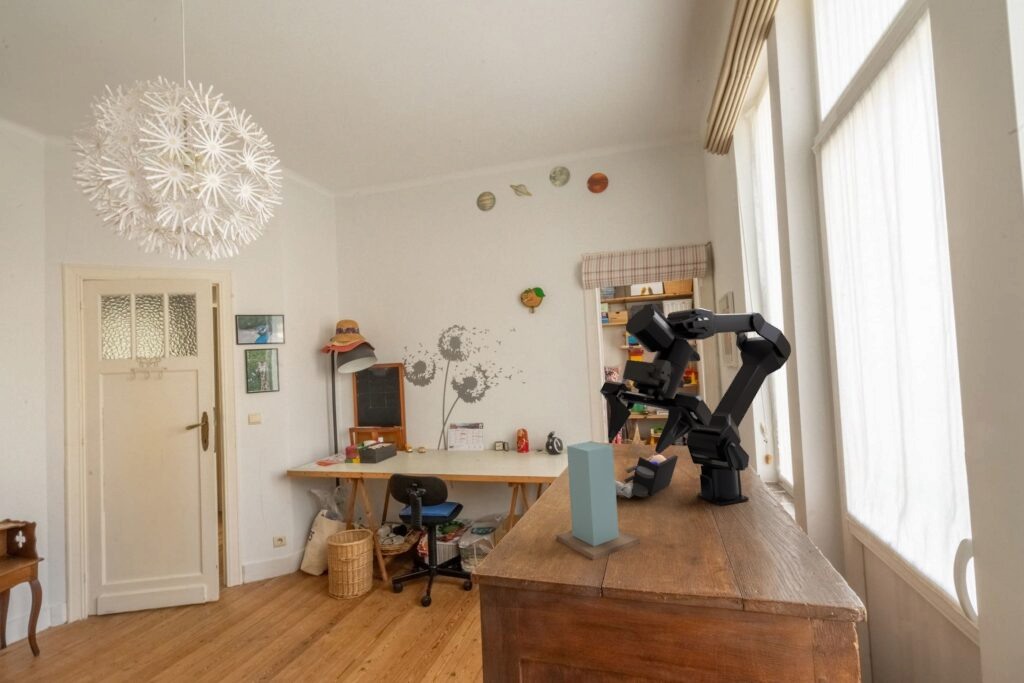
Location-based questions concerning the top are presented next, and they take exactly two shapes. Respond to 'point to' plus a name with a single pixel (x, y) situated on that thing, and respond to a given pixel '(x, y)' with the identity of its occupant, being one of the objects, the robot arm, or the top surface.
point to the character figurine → (651, 474)
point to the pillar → (592, 492)
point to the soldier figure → (624, 489)
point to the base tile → (601, 549)
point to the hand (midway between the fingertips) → (632, 445)
